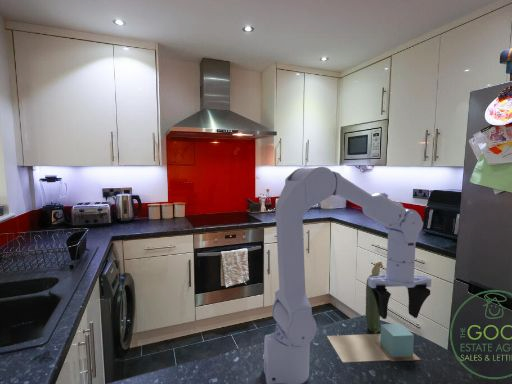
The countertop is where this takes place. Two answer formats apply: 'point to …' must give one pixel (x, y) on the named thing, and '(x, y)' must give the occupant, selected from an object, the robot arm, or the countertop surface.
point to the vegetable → (372, 303)
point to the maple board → (363, 348)
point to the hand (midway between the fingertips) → (397, 316)
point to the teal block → (397, 340)
